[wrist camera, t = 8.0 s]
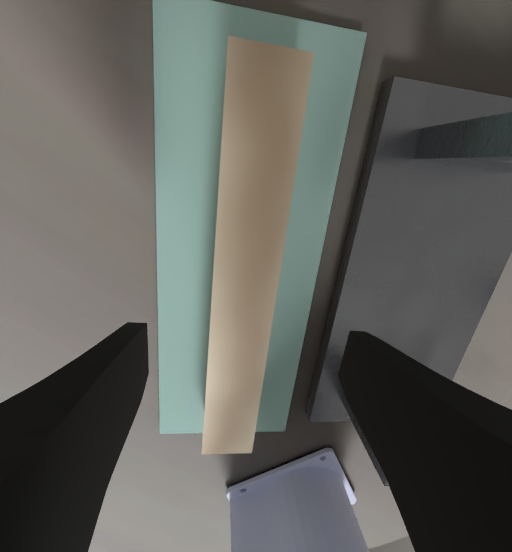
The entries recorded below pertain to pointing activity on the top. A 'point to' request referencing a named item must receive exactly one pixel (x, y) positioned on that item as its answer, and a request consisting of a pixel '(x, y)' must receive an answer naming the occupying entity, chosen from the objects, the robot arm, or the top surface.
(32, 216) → the top surface
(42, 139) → the top surface
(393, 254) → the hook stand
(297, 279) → the sage mat
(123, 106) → the top surface
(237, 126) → the ash bar
